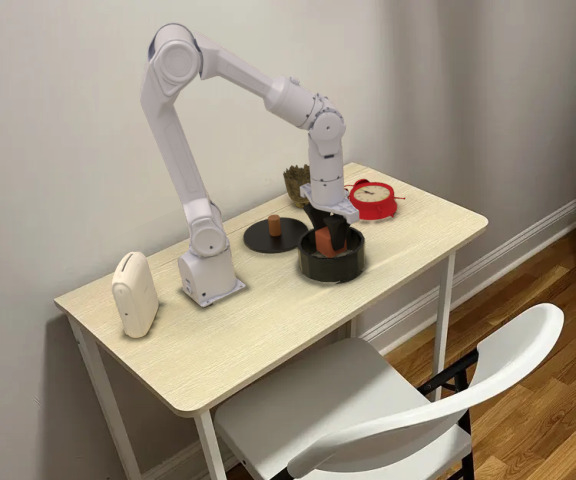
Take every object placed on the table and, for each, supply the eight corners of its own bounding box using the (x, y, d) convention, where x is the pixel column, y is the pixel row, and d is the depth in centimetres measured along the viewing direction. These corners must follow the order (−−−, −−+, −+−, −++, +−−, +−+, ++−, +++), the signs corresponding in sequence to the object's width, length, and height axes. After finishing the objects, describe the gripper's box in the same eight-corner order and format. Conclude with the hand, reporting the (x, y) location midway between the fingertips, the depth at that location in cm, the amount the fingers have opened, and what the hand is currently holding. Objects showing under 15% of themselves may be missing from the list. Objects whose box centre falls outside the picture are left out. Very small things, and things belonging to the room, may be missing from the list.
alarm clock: (377, 212, 134) (324, 177, 141) (372, 237, 139) (321, 202, 146) (412, 192, 139) (359, 159, 145) (406, 217, 144) (355, 184, 150)
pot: (326, 292, 122) (324, 267, 119) (287, 265, 130) (284, 240, 127) (378, 267, 127) (378, 241, 123) (338, 242, 135) (336, 217, 131)
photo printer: (147, 339, 117) (129, 278, 109) (123, 338, 118) (103, 278, 110) (162, 303, 125) (146, 244, 116) (140, 303, 125) (123, 245, 117)
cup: (322, 197, 149) (319, 162, 144) (320, 214, 144) (317, 178, 138) (288, 198, 150) (284, 164, 145) (285, 215, 145) (281, 180, 139)
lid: (267, 263, 131) (264, 242, 128) (231, 238, 140) (228, 217, 137) (321, 238, 136) (320, 217, 133) (284, 215, 145) (282, 194, 142)
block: (329, 258, 124) (328, 239, 122) (316, 250, 127) (314, 231, 124) (346, 250, 126) (345, 231, 123) (333, 242, 128) (332, 223, 126)
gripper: (372, 179, 113) (373, 250, 122) (320, 154, 122) (324, 222, 131) (339, 194, 110) (342, 265, 119) (287, 167, 120) (294, 235, 129)
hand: (331, 244), depth 125 cm, fingers closed on block, 4 cm apart
